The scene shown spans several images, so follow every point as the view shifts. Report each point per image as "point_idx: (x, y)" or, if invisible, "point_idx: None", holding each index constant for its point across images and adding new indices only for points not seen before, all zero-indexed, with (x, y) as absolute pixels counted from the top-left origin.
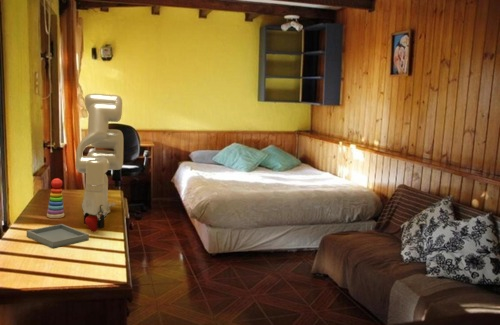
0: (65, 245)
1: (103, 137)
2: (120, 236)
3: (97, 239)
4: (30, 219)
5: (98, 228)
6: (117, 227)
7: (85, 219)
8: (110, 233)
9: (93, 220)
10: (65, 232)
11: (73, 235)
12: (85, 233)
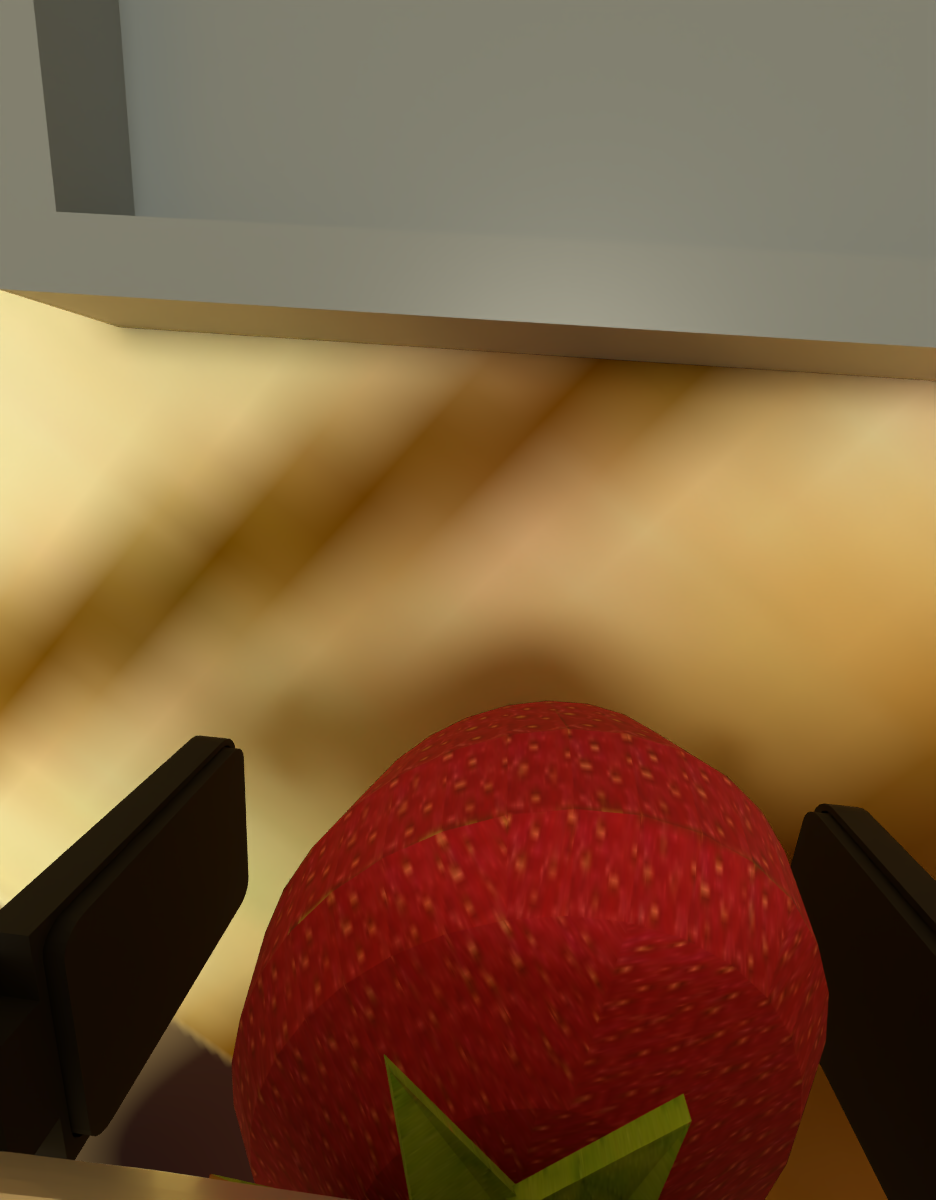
0: None
1: None
2: (2, 872)
3: (62, 494)
4: None
5: (195, 750)
6: None
7: (698, 803)
8: None
9: (316, 892)
10: (907, 163)
11: (514, 160)
12: (112, 262)
